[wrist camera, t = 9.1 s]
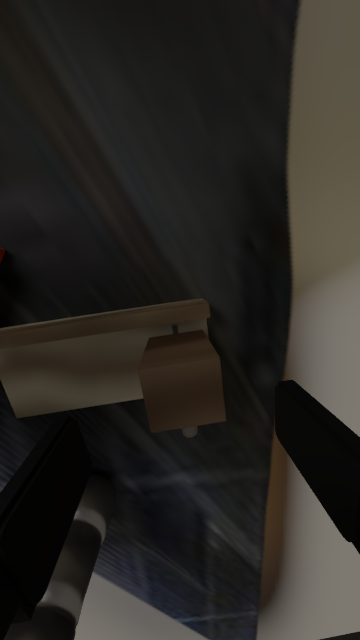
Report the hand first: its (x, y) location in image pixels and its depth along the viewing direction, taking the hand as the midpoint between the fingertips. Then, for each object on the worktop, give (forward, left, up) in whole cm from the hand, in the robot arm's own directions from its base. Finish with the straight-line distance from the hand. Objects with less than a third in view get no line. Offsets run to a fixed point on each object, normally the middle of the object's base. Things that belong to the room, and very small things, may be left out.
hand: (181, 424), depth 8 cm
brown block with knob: (+2, 0, -9) cm, 9 cm away
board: (0, -7, -11) cm, 12 cm away
